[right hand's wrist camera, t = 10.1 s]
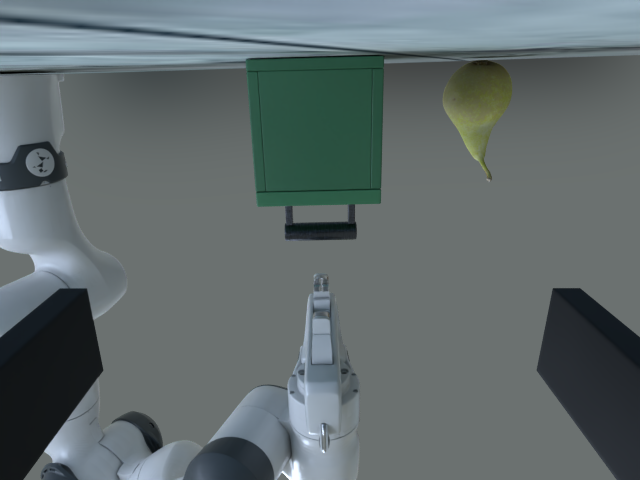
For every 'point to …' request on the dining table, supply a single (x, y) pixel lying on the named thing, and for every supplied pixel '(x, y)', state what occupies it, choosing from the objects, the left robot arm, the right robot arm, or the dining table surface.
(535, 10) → the dining table surface
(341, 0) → the dining table surface
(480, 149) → the fruit
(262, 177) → the chest
